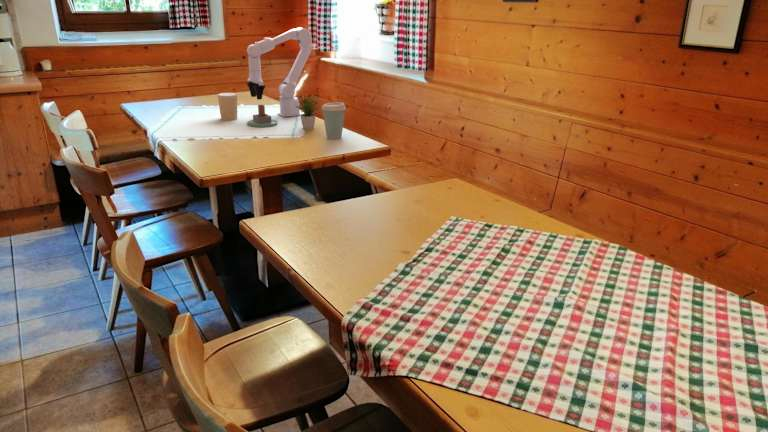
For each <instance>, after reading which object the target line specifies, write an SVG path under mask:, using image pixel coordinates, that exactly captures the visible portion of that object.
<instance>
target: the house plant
mask: <svg viewBox="0 0 768 432" xmlns="http://www.w3.org/2000/svg"><path fill="white" fill-rule="evenodd" d="M301 98H302V99H300V98H299V97H297V99H298V100H299V104H300V105H301V106H300V105H299V106H295V107H297V108H299V110H301V112H300V115H299V117H300V121H301V125H302V126H301V127H302V129H303V130H309V131H310V130H314V128H315V123H316V114H314V112H315V111H318V112H319V110H318V109H319V108H320V105H319V106H318V104H321V103H323V101H321V99H323V98H318V99H317V95H314V94H312V95H311V97H310V98H309V97H308V95H307V94H305V96H304V95H302V96H301ZM308 98H309V99H308ZM315 105H317V106H315Z"/></svg>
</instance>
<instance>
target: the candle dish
mask: <svg viewBox="0 0 768 432" xmlns="http://www.w3.org/2000/svg"><path fill="white" fill-rule="evenodd" d="M277 125H278V121H277V119H273V118H272V116H271V115H270V114H267V113H265V117H259V113H258V114H253V115H252V119H250V120H248V121H247V126H248V127H254V128H269V127H275V126H277Z"/></svg>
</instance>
